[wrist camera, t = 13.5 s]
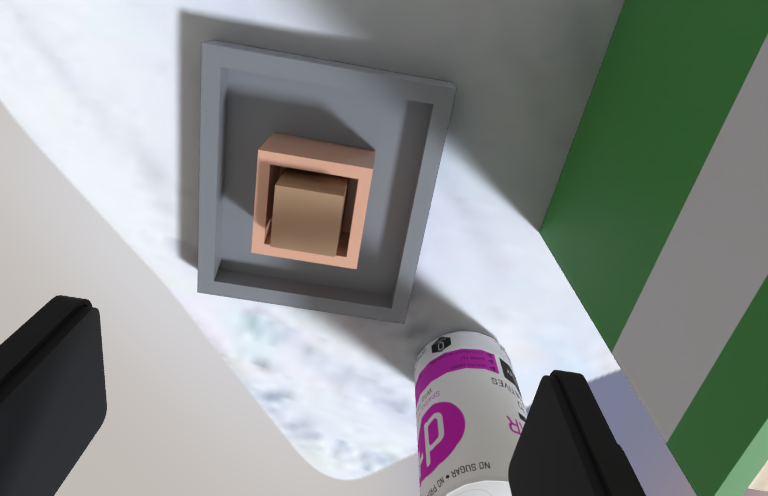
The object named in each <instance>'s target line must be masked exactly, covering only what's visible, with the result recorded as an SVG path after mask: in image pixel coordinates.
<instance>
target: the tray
mask: <svg viewBox="0 0 768 496" xmlns="http://www.w3.org/2000/svg"><path fill="white" fill-rule="evenodd" d="M455 93H456V87H455V86H454V84H453V83H452V82H446V81H441V80H435V79H430V78H424V77H419V76H413V75H407V74H402V73H396V72H391V71H385V70H379V69H374V68H368V67H363V66H357V65H352V64H346V63H340V62H335V61H329V60H324V59H318V58H312V57H307V56H301V55H296V54H290V53H285V52H279V51H273V50H268V49H262V48H257V47H251V46H246V45H240V44H234V43H229V42H223V41H218V40H212V41H208V42H204V43H202V53H201V112H200V171H199V229H198V288H197V292H198V293H205V294H211V295H218V296H225V297H231V298H238V299H244V300H251V301H257V302H264V303H270V304H277V305H283V306H290V307H296V308H303V309H310V310H316V311H323V312H329V313H336V314H342V315H349V316H355V317H362V318H368V319H375V320H381V321H388V322H395V323H401V324H404V323H405V318H406V314H407V309H408V305H409V300H410V296H411V291H412V287H413V282H414V278H415V273H416V269H417V264H418V260H419V255H420V251H421V246H422V242H423V237H424V233H425V228H426V224H427V219H428V215H429V210H430V206H431V201H432V196H433V192H434V187H435V183H436V178H437V174H438V169H439V165H440V160H441V156H442V151H443V147H444V142H445V138H446V133H447V129H448V124H449V120H450V115H451V111H452V106H453V102H454V97H455ZM272 133H279V134H285V135H291V136H297V137H303V138H308V139H314V140H320V141H326V142H332V143H338V144H344V145H349V146H355V147H361V148H367V149H373V150H376V151H375V158H374V166H373V173H372V179H371V185H370V191H369V197H368V203H367V209H366V215H365V221H364V227H363V233H362V239H361V245H360V251H359V257H358V263H357V269H351V268H345V267H339V266H332V265H326V264H320V263H313V262H307V261H301V260H294V259H288V258H282V257H276V256H269V255H263V254H257V253H251V249H252V234H253V219H254V204H255V189H256V174H257V159H258V149H259V148H260V147H261V146H262V145H263V144H264V143H265V141H266V140H267V139H268V138H269V137H270V136H271V135H272Z"/></svg>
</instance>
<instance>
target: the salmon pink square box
mask: <svg viewBox="0 0 768 496" xmlns="http://www.w3.org/2000/svg"><path fill="white" fill-rule="evenodd" d="M375 151H376V150H373V149H367V148H361V147H355V146H349V145H344V144H338V143H332V142H326V141H320V140H314V139H308V138H303V137H297V136H291V135H285V134H279V133H272V135H271V136H270V137H269V138H268V139H267V140H266V141H265V143H264V144H263V145H262V146H261V147H260V148H259V149H258V159H257V174H256V189H255V204H254V219H253V234H252V249H251V253H257V254H263V255H269V256H276V257H282V258H288V259H294V260H301V261H307V262H313V263H320V264H326V265H332V266H339V267H345V268H351V269H357V263H358V257H359V251H360V245H361V239H362V233H363V227H364V221H365V215H366V209H367V203H368V197H369V191H370V185H371V179H372V173H373V166H374V158H375ZM286 167H289V168H295V169H301V170H307V171H313V172H319V173H325V174H331V175H337V176H343V177H349V185H348V192H347V199H346V206H345V212H344V219H343V225H342V229H341V234H340V238H339V242H338V247H337V251H336V256H335V257H331V256H325V255H319V254H313V253H306V252H300V251H294V250H287V249H281V248H275V247H270V241H271V229H272V217H273V205H274V193H275V184H276V183H277V181H278V180H279V178H280V176H281V175H282V173H283V172H284V170H285V168H286Z"/></svg>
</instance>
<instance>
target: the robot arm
mask: <svg viewBox="0 0 768 496" xmlns="http://www.w3.org/2000/svg"><path fill="white" fill-rule="evenodd" d="M106 411H107V402H106V389H105V376H104V364H103V352H102V338H101V325H100V315H99V310H98V309H97V308H93V307H92V304H91V303H90V301H89V300H87V299H81V298H75V297H68V296H61V295H60V296H56V297H54V298H53V299H51V300H50V301H49V302H48V303H47V304H46V305H45V306H44V307H42V308H41V309H40V310H39V311H38V312H37V313H36V314H35V315H34V316H32V317H31V318H30V319H29V320H28V321H27V322H26V323H25V324H23V325H22V326H21V327H20V328H19V329H18V330H17V331H16V332H14V333H13V334H12V335H11V336H10V337H9V338H8V339H7V340H5V341H4V342H3V343H2V344H1V345H0V496H54V495H55V493H56V492H57V490H58V489H59V487H60V486H61V484H62V483H63V481H64V480H65V479H66V477H67V476H68V474H69V473H70V471H71V470H72V468H73V467H74V465H75V464H76V462H77V461H78V459H79V458H80V456H81V455H82V454H83V452H84V450H85V449H86V448H87V446H88V444H89V443H90V441H91V440H92V439H93V437H94V435H95V434H96V433H97V431H98V430H99V429H100V427H101V425H102V423H103V421H104V419H105V416H106ZM508 480H509V486H510V490H511V494H512V496H646V495H645V493H644V491H643V489H642V487H641V485H640V483H639V481H638V479H637V477H636V475H635V473H634V471H633V469H632V467H631V465H630V463H629V461H628V459H627V457H626V455H625V453H624V451H623V450H622V448H621V447H620V445H618V444H617V443H616V440H615V438H614V436H613V434H612V432H611V430H610V428H609V426H608V424H607V422H606V420H605V418H604V416H603V414H602V412H601V410H600V408H599V406H598V404H597V402H596V400H595V398H594V396H593V394H592V392H591V389H590V387H589V385H588V383H587V381H586V379H585V378H584V376H583V375H582V374H580V373H573V372H566V371H560V370H554V371H553V372H552V373H551V374H550V376H547V375H545V376H543V377H542V379H541V381H540V384H539V387H538V389H537V392H536V395H535V397H534V400H533V403H532V405H531V408H530V411H529V413H528V416H527V419H526V421H525V424H524V426H523V429H522V432H521V434H520V437H519V440H518V442H517V445H516V448H515V450H514V453H513V456H512V458H511V461H510V464H509V469H508Z"/></svg>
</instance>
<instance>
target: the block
mask: <svg viewBox="0 0 768 496" xmlns="http://www.w3.org/2000/svg"><path fill="white" fill-rule="evenodd" d="M348 185H349V177H343V176H337V175H331V174H325V173H319V172H313V171H307V170H301V169H295V168H289V167H286V168H285V170H284V172H283V173H282V175H281V176H280V178H279V180H278V181H277V183H276V184H275V193H274V205H273V217H272V229H271V241H270V247H275V248H281V249H287V250H294V251H300V252H306V253H313V254H319V255H325V256H331V257H335V256H336V251H337V247H338V242H339V238H340V234H341V229H342V225H343V219H344V212H345V206H346V199H347V192H348Z"/></svg>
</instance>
